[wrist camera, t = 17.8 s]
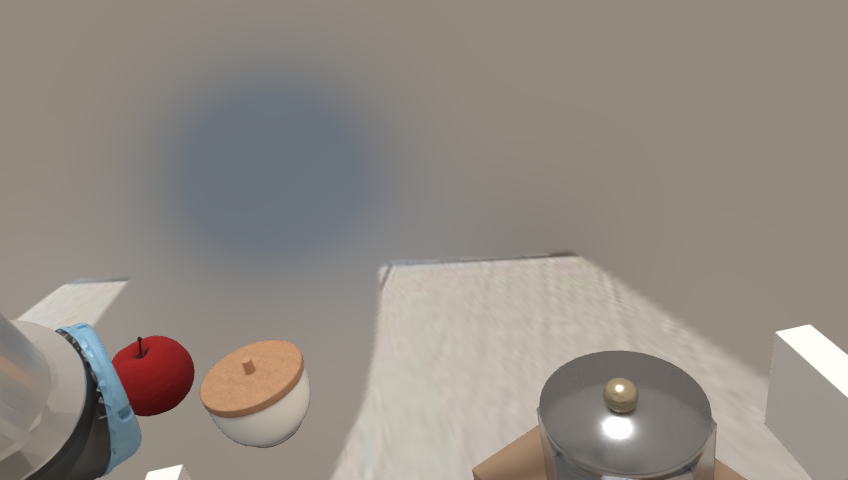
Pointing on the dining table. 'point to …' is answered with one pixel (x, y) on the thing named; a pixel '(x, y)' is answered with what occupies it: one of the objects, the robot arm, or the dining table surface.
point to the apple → (154, 374)
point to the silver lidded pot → (625, 420)
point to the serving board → (543, 462)
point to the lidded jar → (258, 393)
